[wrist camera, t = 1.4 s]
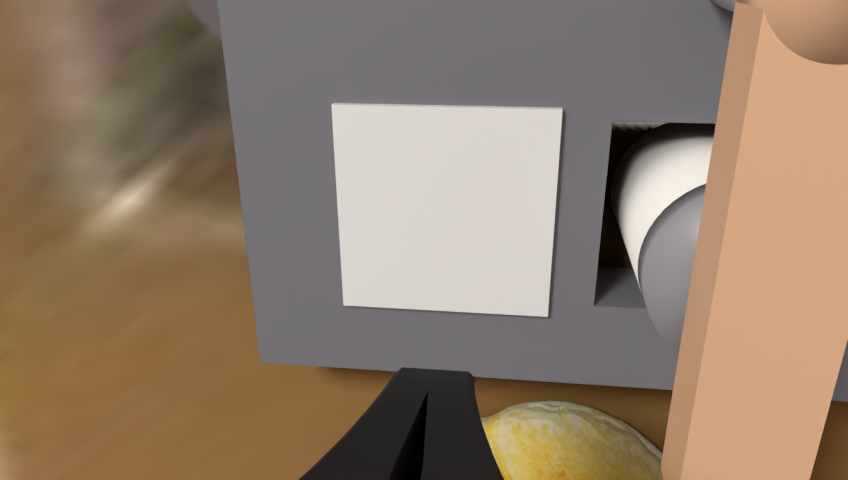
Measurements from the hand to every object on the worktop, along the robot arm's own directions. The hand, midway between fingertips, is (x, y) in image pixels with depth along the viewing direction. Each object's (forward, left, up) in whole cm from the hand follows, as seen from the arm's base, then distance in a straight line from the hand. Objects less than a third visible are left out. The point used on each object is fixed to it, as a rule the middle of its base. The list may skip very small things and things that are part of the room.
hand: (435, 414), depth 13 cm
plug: (-6, -1, -9) cm, 11 cm away
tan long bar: (-6, -3, -3) cm, 7 cm away
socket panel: (-4, -3, -9) cm, 10 cm away
